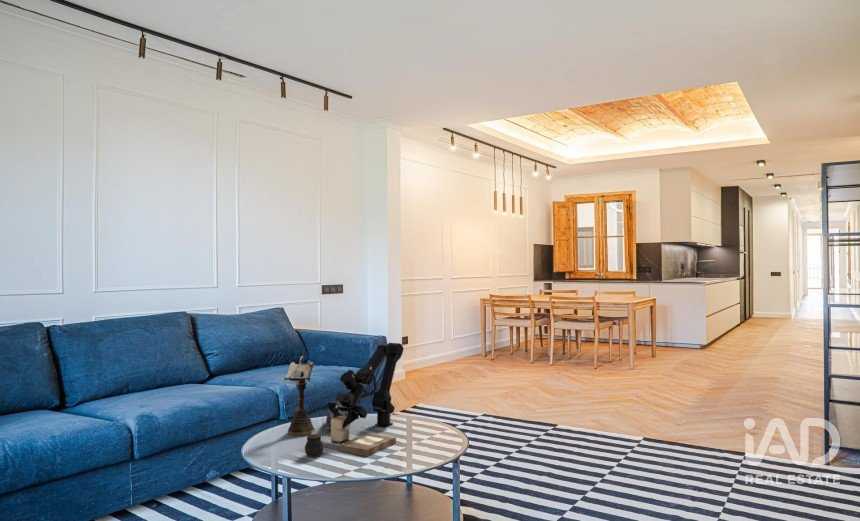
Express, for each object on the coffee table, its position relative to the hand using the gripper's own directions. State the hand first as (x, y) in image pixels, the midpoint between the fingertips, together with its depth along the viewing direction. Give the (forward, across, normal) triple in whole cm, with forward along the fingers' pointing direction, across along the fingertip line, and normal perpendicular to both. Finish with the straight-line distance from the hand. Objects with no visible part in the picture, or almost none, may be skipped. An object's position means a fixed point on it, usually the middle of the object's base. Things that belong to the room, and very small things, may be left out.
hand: (338, 426), depth 250 cm
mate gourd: (+18, +3, -8) cm, 20 cm away
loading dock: (+4, +15, +6) cm, 16 cm away
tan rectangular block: (+4, 0, +6) cm, 7 cm away
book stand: (+4, -22, +6) cm, 23 cm away
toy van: (-11, -18, +21) cm, 30 cm away
